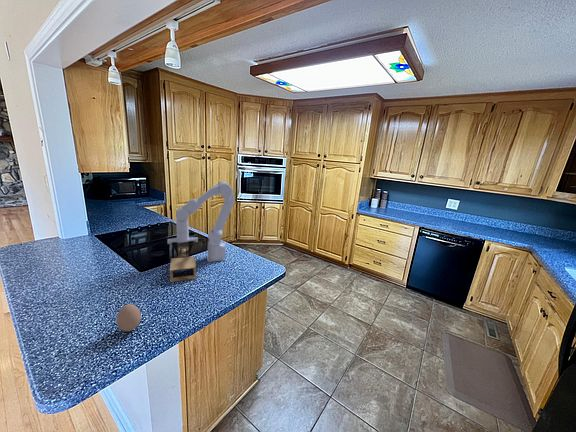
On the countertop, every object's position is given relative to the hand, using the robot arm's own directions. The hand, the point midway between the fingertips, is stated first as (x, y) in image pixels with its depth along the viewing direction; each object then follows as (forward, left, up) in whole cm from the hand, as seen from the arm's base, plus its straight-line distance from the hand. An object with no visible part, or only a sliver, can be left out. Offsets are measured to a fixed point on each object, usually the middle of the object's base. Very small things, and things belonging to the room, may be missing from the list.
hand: (183, 254), depth 125 cm
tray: (0, 0, -3) cm, 3 cm away
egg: (+16, +48, -4) cm, 51 cm away
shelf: (0, +14, -4) cm, 15 cm away
